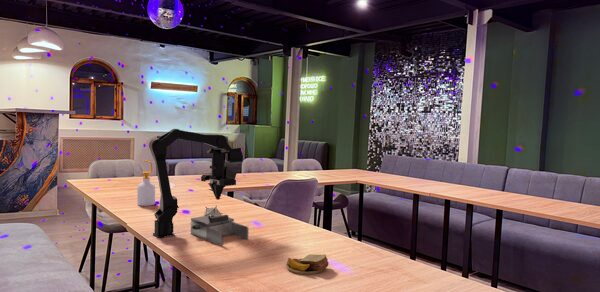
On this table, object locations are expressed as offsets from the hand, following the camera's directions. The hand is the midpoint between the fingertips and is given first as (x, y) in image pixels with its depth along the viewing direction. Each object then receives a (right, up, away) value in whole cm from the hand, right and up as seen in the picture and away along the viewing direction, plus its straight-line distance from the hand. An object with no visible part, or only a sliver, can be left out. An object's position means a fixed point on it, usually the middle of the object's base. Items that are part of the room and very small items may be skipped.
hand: (217, 199), depth 180 cm
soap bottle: (-49, -9, +48) cm, 69 cm away
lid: (-1, -8, -7) cm, 11 cm away
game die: (-5, -13, +9) cm, 16 cm away
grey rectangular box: (+2, -14, -10) cm, 17 cm away
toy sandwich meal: (+38, -17, -44) cm, 61 cm away
